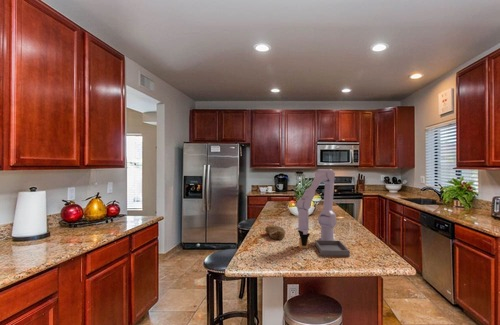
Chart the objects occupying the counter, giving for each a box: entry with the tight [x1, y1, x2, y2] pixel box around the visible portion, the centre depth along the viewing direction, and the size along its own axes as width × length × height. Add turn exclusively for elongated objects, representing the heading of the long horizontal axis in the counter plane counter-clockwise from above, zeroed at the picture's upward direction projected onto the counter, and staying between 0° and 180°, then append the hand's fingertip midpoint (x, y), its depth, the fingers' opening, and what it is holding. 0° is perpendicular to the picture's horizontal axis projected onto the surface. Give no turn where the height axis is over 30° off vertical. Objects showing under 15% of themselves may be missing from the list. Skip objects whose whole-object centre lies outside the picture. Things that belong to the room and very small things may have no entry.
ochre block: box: [298, 237, 309, 249], centre depth 165 cm, size 5×5×5 cm
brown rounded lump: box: [264, 224, 286, 240], centre depth 191 cm, size 13×8×20 cm
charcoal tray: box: [314, 239, 351, 258], centre depth 157 cm, size 20×14×3 cm
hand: (303, 244), depth 165 cm, fingers closed on ochre block, 5 cm apart
